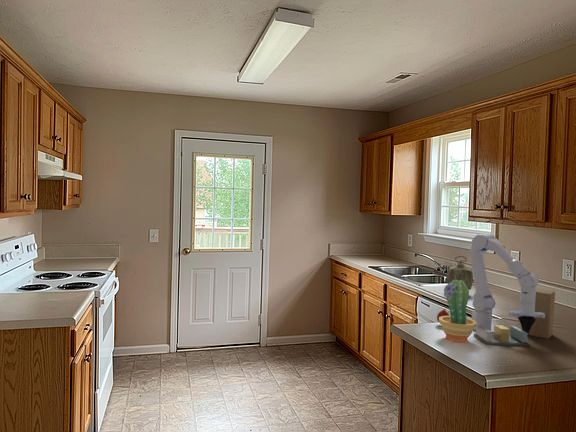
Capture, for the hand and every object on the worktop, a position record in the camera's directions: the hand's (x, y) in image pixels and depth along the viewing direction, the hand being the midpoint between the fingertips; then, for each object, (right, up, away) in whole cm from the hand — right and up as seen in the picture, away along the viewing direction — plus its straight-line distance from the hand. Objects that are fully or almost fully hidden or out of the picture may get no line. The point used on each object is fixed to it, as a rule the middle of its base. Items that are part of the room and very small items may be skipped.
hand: (525, 333), depth 192 cm
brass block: (-11, -2, -1) cm, 11 cm away
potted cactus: (-29, -2, 0) cm, 29 cm away
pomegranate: (-28, -2, +21) cm, 35 cm away
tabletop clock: (+8, -1, +97) cm, 98 cm away
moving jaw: (-3, -2, 0) cm, 4 cm away
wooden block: (+12, -4, +12) cm, 18 cm away
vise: (-11, -3, 0) cm, 11 cm away
